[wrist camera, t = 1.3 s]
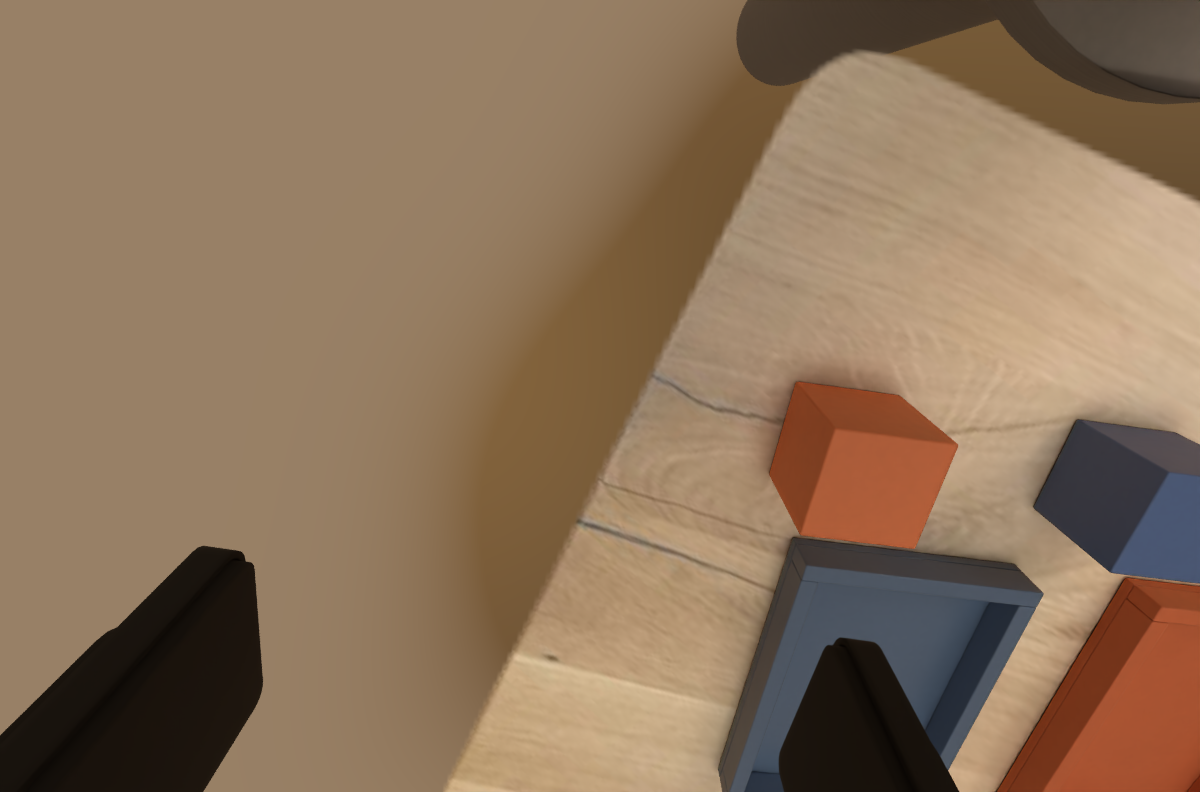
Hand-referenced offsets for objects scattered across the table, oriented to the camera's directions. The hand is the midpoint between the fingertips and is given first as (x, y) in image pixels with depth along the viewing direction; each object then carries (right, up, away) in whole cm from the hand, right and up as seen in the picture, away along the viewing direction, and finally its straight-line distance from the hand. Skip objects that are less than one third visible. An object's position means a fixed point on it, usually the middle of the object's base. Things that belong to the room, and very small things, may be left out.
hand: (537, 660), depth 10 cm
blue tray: (+14, -10, +21) cm, 27 cm away
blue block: (+23, +1, +16) cm, 28 cm away
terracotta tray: (+30, -12, +21) cm, 39 cm away
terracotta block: (+11, +3, +15) cm, 19 cm away
